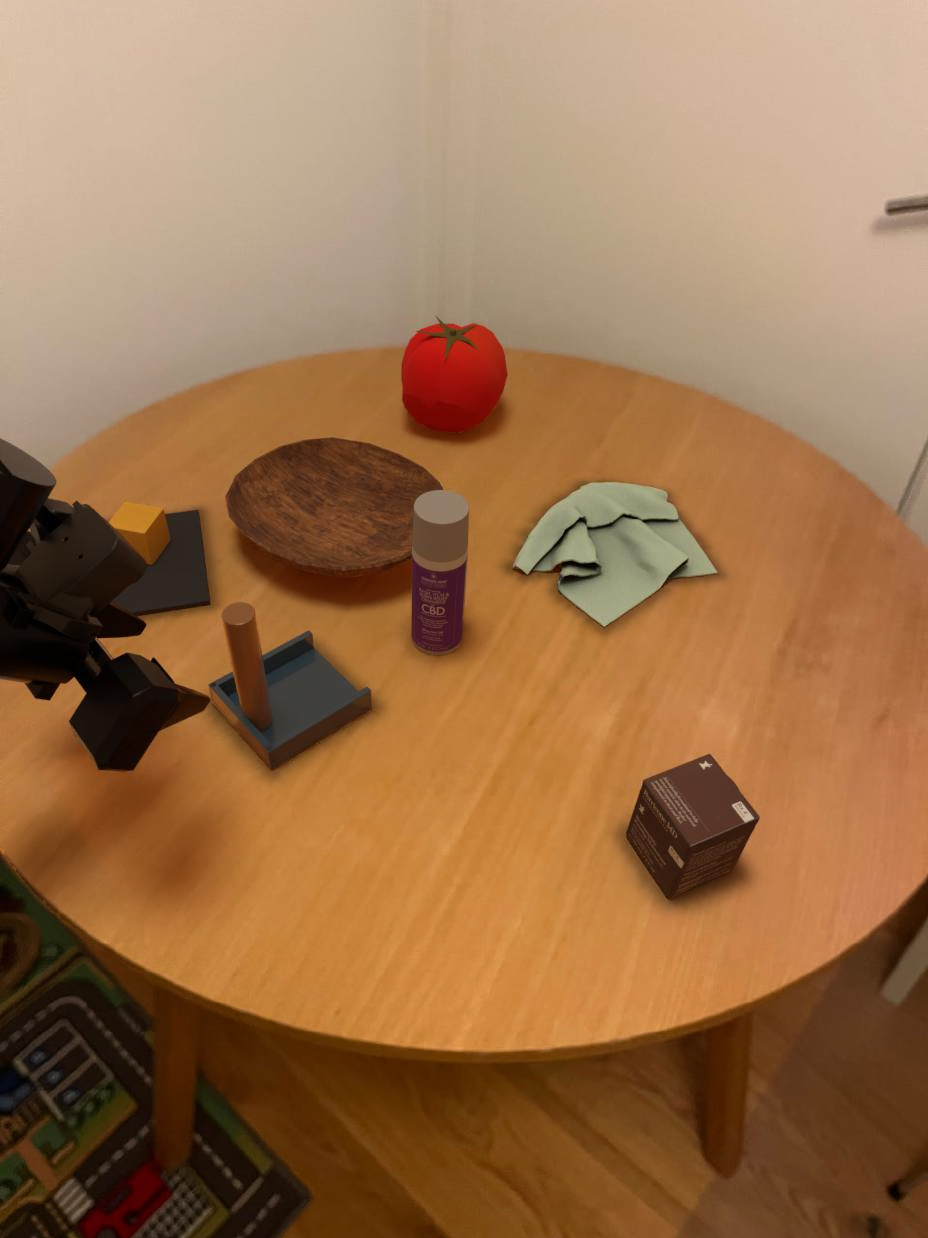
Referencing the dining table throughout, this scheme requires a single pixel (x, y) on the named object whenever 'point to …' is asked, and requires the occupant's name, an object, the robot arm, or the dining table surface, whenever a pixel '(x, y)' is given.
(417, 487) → the bowl
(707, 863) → the box
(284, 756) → the tray with wooden peg
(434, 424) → the tomato
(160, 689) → the robot arm
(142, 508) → the block
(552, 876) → the dining table surface
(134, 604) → the mat
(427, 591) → the container
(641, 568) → the cloth
